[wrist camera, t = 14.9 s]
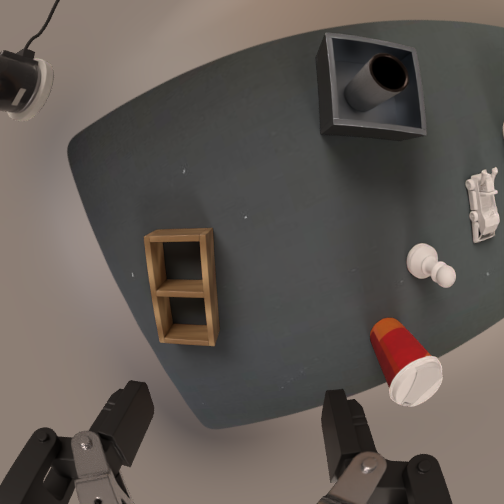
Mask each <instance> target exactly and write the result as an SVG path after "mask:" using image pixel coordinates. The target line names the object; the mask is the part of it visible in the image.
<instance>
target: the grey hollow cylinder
mask: <svg viewBox="0 0 504 504" xmlns="http://www.w3.org/2000/svg"><path fill="white" fill-rule="evenodd" d="M408 83H409V75H408V71H407V69H406V67H405V66H404V64H403V63H402V62H401V61H400V60H399V59H398V58H396V57H395V56H393V55H390V54H387V53H379V54H376V55H374V56H373V57H372V58H371V59H370V60H369V61H368V62H367V63H366V64H365V66H364V67H363V68H362V69H361V70H360V71H359V72H358V73H357V74H356V75H355V77H354V78H353V79H352V80H351V81H350V82H349V83H348V85H347V86H346V88H345V98H346V100H347V102H348V104H349V105H350V106H351V107H353V108H354V109H356V110H358V111H369V110H371V109H373V108H374V107H376V106H378V105H379V104H381V103H383V102H384V101H386V100H388V99H390V98H391V97H393V96H395V95H396V94H398V93H400V92H401V91H403V90H404V89H405V88H406V87H407V86H408Z"/></svg>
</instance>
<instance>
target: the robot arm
mask: <svg viewBox="0 0 504 504" xmlns="http://www.w3.org/2000/svg"><path fill="white" fill-rule="evenodd" d="M59 1H60V0H56V2H55V3H54V6H53V8H52V10H51V12H50V14H49V16H48V18H47V20H46V22H45V24H44V26H43V27H42V29H41V30H40V31H39V33H38V34H36V35H35V36H33V37H32V38H31V39H30V40H29V41H28V42H27V44H26V46H25V48H24V49H22V50H21V51H19V52H17V53H16V54H15V53H12V52H9V51H6V50H3V51H2V52H0V111H5V112H12V113H21V112H23V111H25V110H26V109H27V108H28V107H29V106H30V105H31V103H32V102H33V100H34V98H35V97H36V95H37V92H38V90H39V87H40V83H41V70H40V68H39V66H38V63H39V61H36V60H33V59H34V54H35V52H33V51H31V50H28V49H27V48H28V47H29V45H30V44H31V42H32V41H33V40H34V39H35V38H37V37H39V36H40V35H41V34H42V32H43V31H44V30H45V28H46V27H47V25H48V23H49V21H50V19H51V17H52V15H53V13H54V11H55V8H56V6H57V4H58V2H59ZM153 414H154V405H153V402H152V399H151V396H150V392H149V389H148V386H147V384H146V383H145V382H138V381H132V380H131V381H129V382H128V383H127V385H126V386H125V388H124V389H119V390H118V391H116V392H115V393H113V394H112V395H111V397H110V398H109V400H108V401H107V403H106V404H105V406H104V407H103V410H102V411H101V412H100V414H99V415H98V417H97V418H96V420H95V421H94V423H93V425H92V426H91V428H90V430H89V431H82V432H79V433H77V434H76V435H75V436H74V437H73V438H71V437H58V436H57V435H56V433H55V432H54V431H53V430H52V429H50V428H40V429H38V430H36V431H35V432H34V433H33V435H32V436H31V438H30V439H29V440H28V442H27V443H26V445H25V447H24V448H23V450H22V451H21V453H20V454H19V456H18V457H17V459H16V460H15V462H14V464H13V465H12V467H11V468H10V470H9V472H8V474H7V475H6V477H5V478H4V480H3V482H2V483H1V485H0V504H68V502H69V500H70V498H71V496H72V494H73V491H74V489H75V487H76V491H77V495H78V499H79V502H80V504H134V502H133V500H132V498H131V495H130V493H129V491H128V488H127V486H126V484H125V481H124V479H123V476H122V474H121V471H120V468H121V466H122V465H125V466H129V467H131V465H132V462H133V460H134V458H135V456H136V453H137V451H138V449H139V447H140V444H141V442H142V440H143V438H144V435H145V433H146V431H147V429H148V427H149V424H150V422H151V420H152V418H153ZM321 421H322V430H323V436H324V442H325V449H326V455H327V462H328V469H329V476H330V482H331V483H335V482H336V483H335V485H334V486H333V487H332V489H331V490H330V491H329V492H328V494H327V495H326V496H323V498H321V499H320V501H319V502H318V503H317V504H452V501H451V498H450V495H449V491H448V488H447V486H446V483H445V479H444V476H443V474H442V471H441V468H440V465H439V463H438V461H437V459H436V458H434V457H433V456H431V455H428V454H420V455H417V456H414V457H413V458H412V459H411V460H410V461H409V462H402V461H390V460H387V459H385V458H384V457H383V456H381V455H380V454H379V453H378V452H377V450H376V448H375V445H374V441H373V438H372V435H371V432H370V429H369V426H368V424H367V420H366V418H365V414H364V411H363V408H362V406H361V405H360V404H359V403H358V402H357V401H356V400H355V399H352V400H347V398H346V395H345V392H344V390H343V389H339V390H327V391H326V393H325V399H324V404H323V410H322V418H321ZM50 467H52V468H51V469H50V471H49V473H48V475H47V477H46V479H45V481H44V483H43V480H44V477H45V475H46V474H47V472H48V470H49V468H50Z"/></svg>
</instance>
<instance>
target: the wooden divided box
mask: <svg viewBox="0 0 504 504" xmlns="http://www.w3.org/2000/svg"><path fill="white" fill-rule="evenodd" d="M188 241H200V253H201V266H202V278H203V280H179V279H167V277H166V269H165V260H164V250H163V242H188ZM144 242H145V251H146V260H147V268H148V275H149V282H150V289H151V295H152V301H153V307H154V313H155V319H156V324H157V330H158V335H159V340H160V342H162V343H174V344H187V345H204V346H215V344H216V340H217V337H218V334H219V331H220V326H219V314H218V301H217V288H216V273H215V258H214V241H213V228H191V229H162V230H161V229H159V230H155V231H153V232H151V233H149V234H148V235H146V236H144ZM169 297H193V298H204V300H205V311H206V321H207V325H189V324H173V320H172V314H171V307H170V300H169Z"/></svg>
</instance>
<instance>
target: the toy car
mask: <svg viewBox="0 0 504 504" xmlns="http://www.w3.org/2000/svg"><path fill="white" fill-rule="evenodd" d="M497 173H498V170H497V168H496V167H495V168H493V169H492V174H488V173H487V172H486V169H485V170H483V171H482V172H481V174H477V175H472V176H471V179H468V180H467V181H466V183H465V184H466V188H467V189H468V194H469V201H470V210H475V211H472V212H470V219H471V221H472V229H473V242H474V243H477V242H480V241H483V240H485V239H488V238H490V237H493V236H494V235H495V230H496V228H497V226H498V224H499V222H500V221H499V214H498V212H497V207H496V204H495V197H494V194H497V193H498V192H497V190H494V178H495V176H496V174H497ZM476 221H478V222H476ZM478 228H479V229H480V233H481V235H480V237H479V238H478ZM489 233H490V234H489ZM486 234H488V235H486ZM482 235H485V236H482ZM481 236H482V237H481Z"/></svg>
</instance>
